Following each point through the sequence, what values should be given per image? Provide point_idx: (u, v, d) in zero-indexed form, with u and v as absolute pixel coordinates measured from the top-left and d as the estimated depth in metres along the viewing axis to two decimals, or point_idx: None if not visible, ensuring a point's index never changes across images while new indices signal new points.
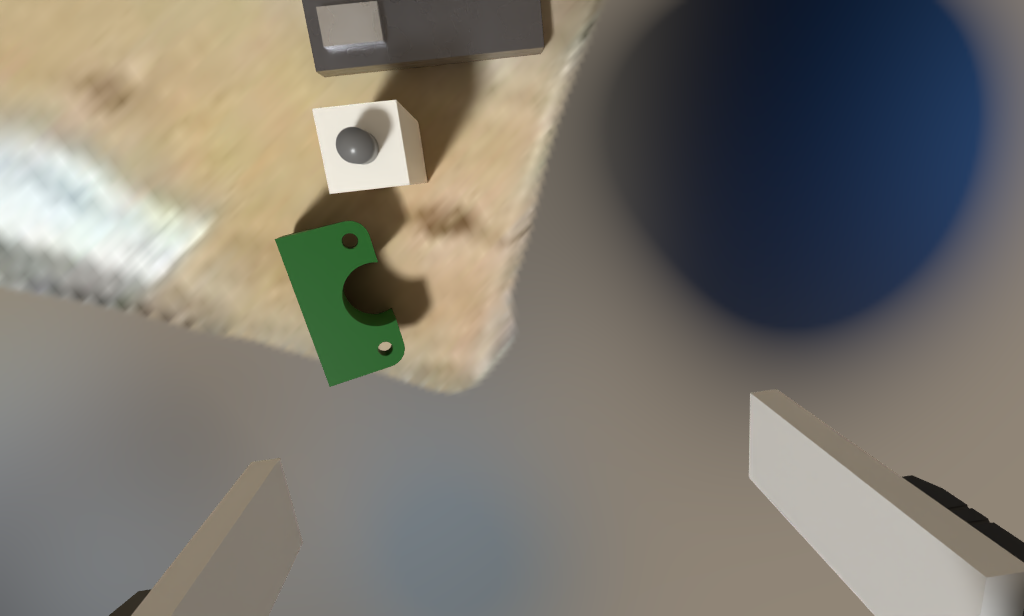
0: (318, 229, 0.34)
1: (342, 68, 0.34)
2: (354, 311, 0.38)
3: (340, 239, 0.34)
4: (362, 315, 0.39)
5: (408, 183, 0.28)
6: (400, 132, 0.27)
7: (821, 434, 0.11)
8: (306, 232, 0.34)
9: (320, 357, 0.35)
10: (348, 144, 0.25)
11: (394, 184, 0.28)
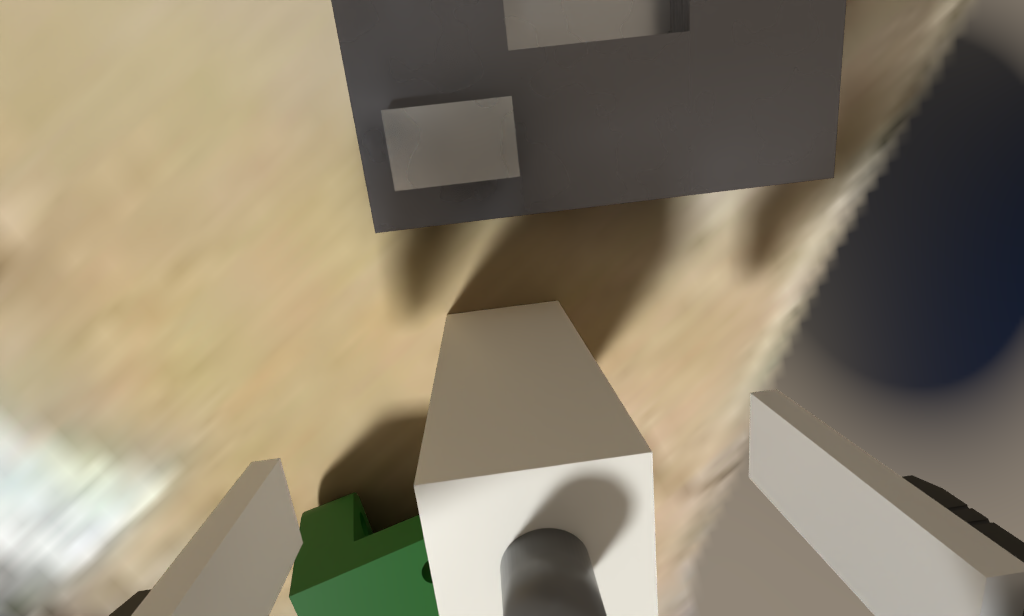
0: (377, 561, 0.17)
1: (428, 225, 0.17)
2: None
3: (419, 570, 0.17)
4: None
5: None
6: (651, 524, 0.10)
7: (821, 434, 0.11)
8: (353, 571, 0.16)
9: None
10: None
11: None
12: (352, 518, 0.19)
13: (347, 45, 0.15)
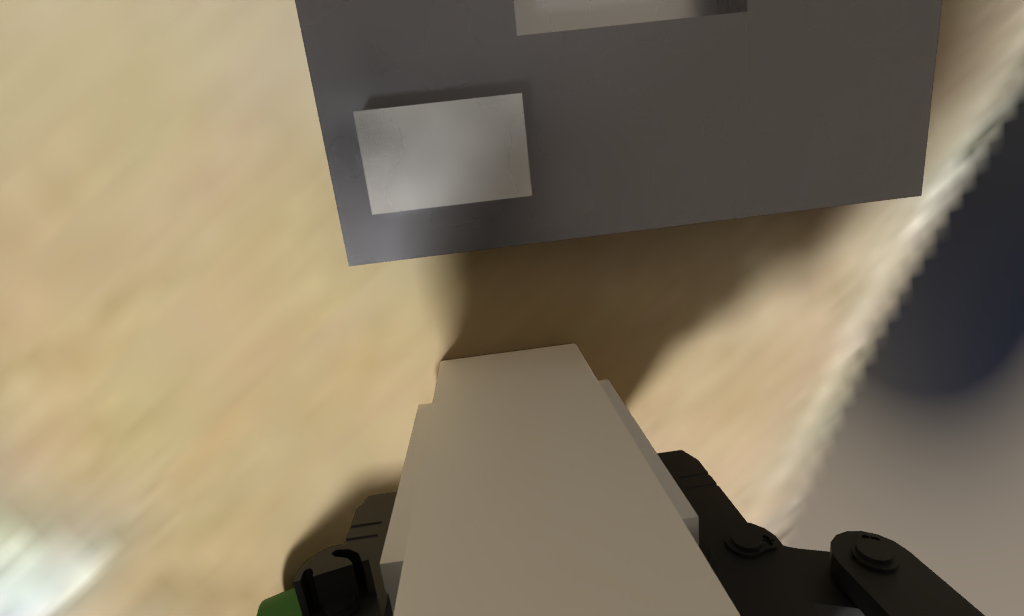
0: None
1: (416, 256, 0.13)
2: None
3: None
4: None
5: None
6: None
7: None
8: None
9: None
10: None
11: None
12: None
13: (310, 28, 0.12)
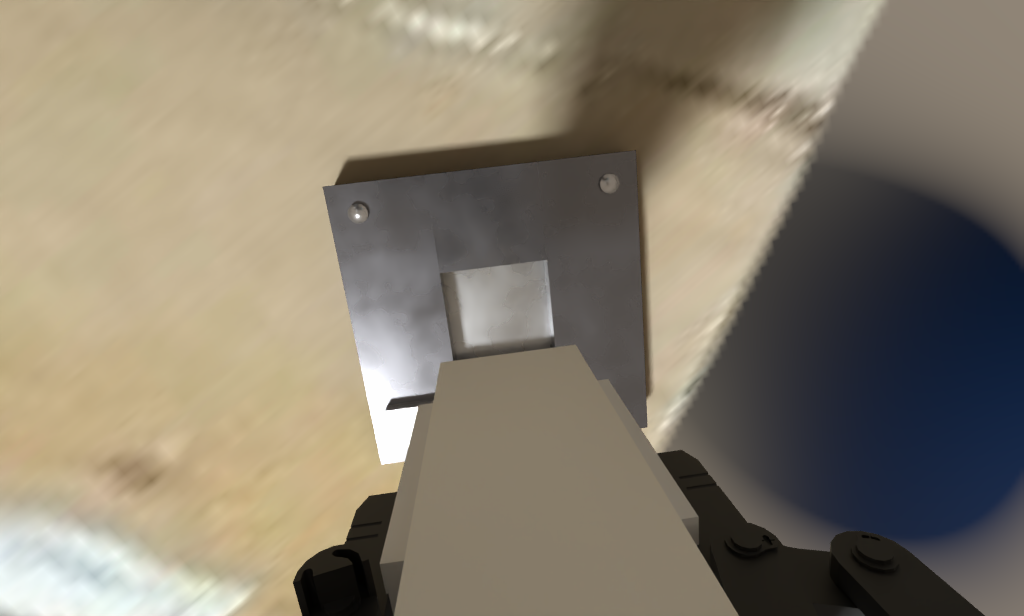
0: None
1: None
2: None
3: None
4: None
5: None
6: None
7: None
8: None
9: None
10: None
11: None
12: None
13: (366, 374, 0.27)
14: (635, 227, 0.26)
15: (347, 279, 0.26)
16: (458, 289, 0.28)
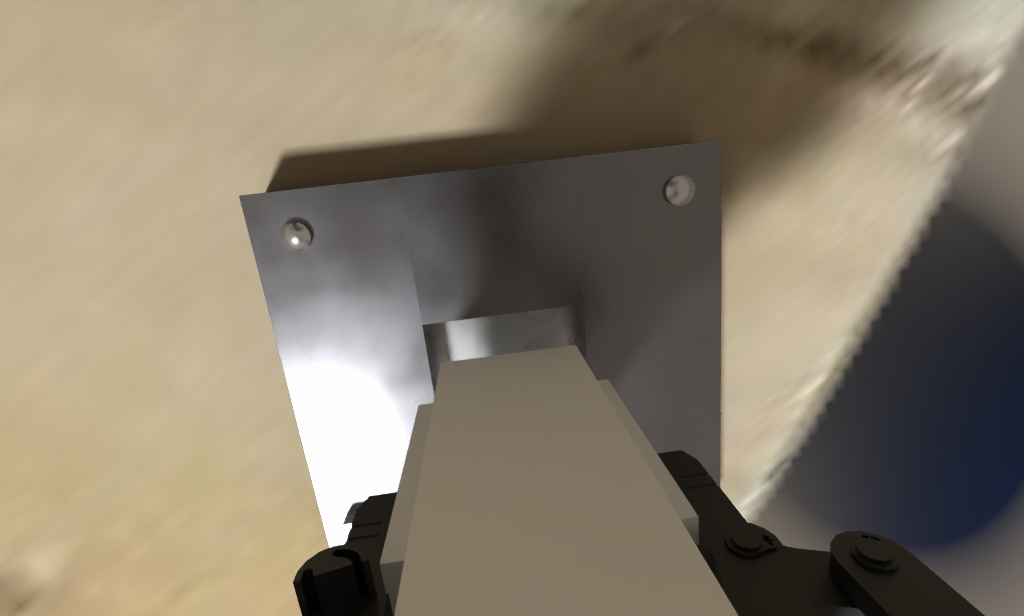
0: None
1: None
2: None
3: None
4: None
5: None
6: None
7: None
8: None
9: None
10: None
11: None
12: None
13: (316, 470, 0.19)
14: (715, 255, 0.18)
15: (282, 335, 0.17)
16: (450, 343, 0.19)
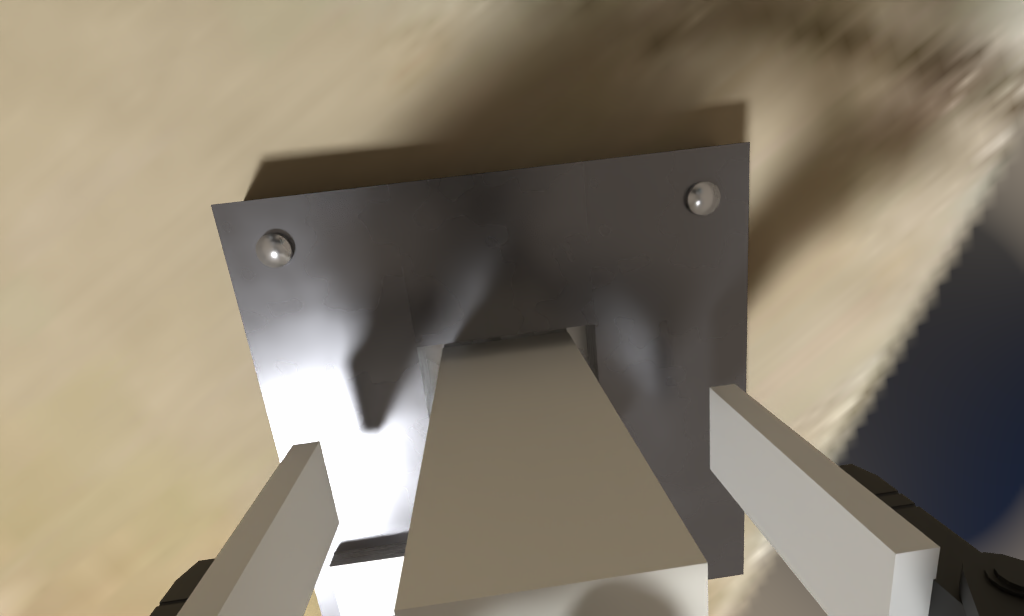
0: None
1: None
2: None
3: None
4: None
5: None
6: None
7: (769, 425, 0.12)
8: None
9: None
10: None
11: None
12: None
13: None
14: (741, 270, 0.16)
15: (261, 359, 0.15)
16: None
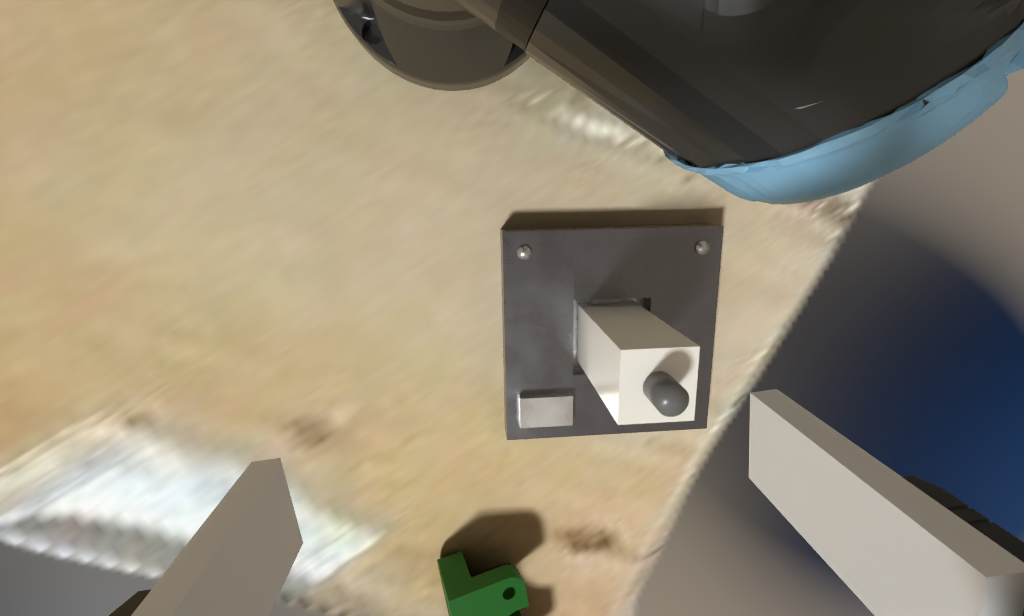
0: (485, 588, 0.37)
1: (530, 438, 0.38)
2: None
3: (501, 593, 0.38)
4: None
5: (693, 419, 0.28)
6: (696, 374, 0.28)
7: (821, 434, 0.11)
8: (475, 591, 0.37)
9: None
10: (668, 400, 0.26)
11: (679, 419, 0.28)
12: (466, 565, 0.40)
13: (508, 370, 0.37)
14: (716, 280, 0.36)
15: (507, 299, 0.35)
16: None
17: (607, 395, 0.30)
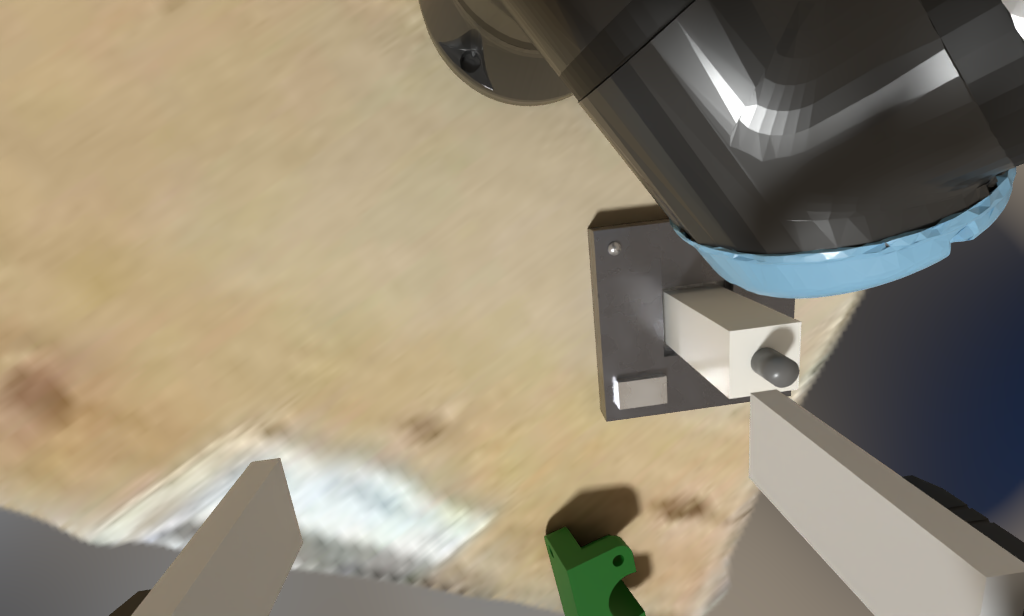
0: (597, 557, 0.41)
1: (627, 418, 0.41)
2: None
3: (612, 560, 0.42)
4: None
5: (797, 388, 0.31)
6: (799, 347, 0.30)
7: (821, 434, 0.11)
8: (589, 561, 0.41)
9: None
10: (780, 372, 0.28)
11: (785, 389, 0.31)
12: (574, 539, 0.43)
13: (605, 358, 0.40)
14: None
15: (600, 292, 0.38)
16: None
17: (712, 373, 0.33)
